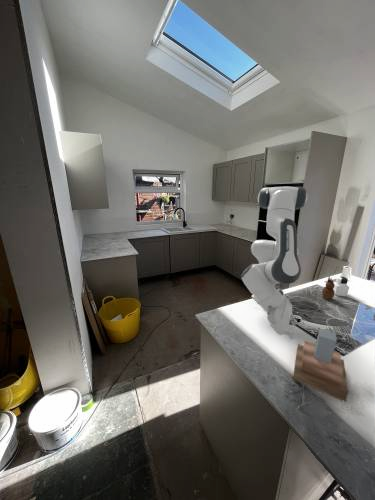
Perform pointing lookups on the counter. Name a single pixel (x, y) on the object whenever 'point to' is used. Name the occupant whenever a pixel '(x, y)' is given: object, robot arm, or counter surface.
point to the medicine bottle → (341, 286)
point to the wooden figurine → (328, 290)
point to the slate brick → (325, 346)
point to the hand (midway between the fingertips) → (294, 330)
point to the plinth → (319, 380)
